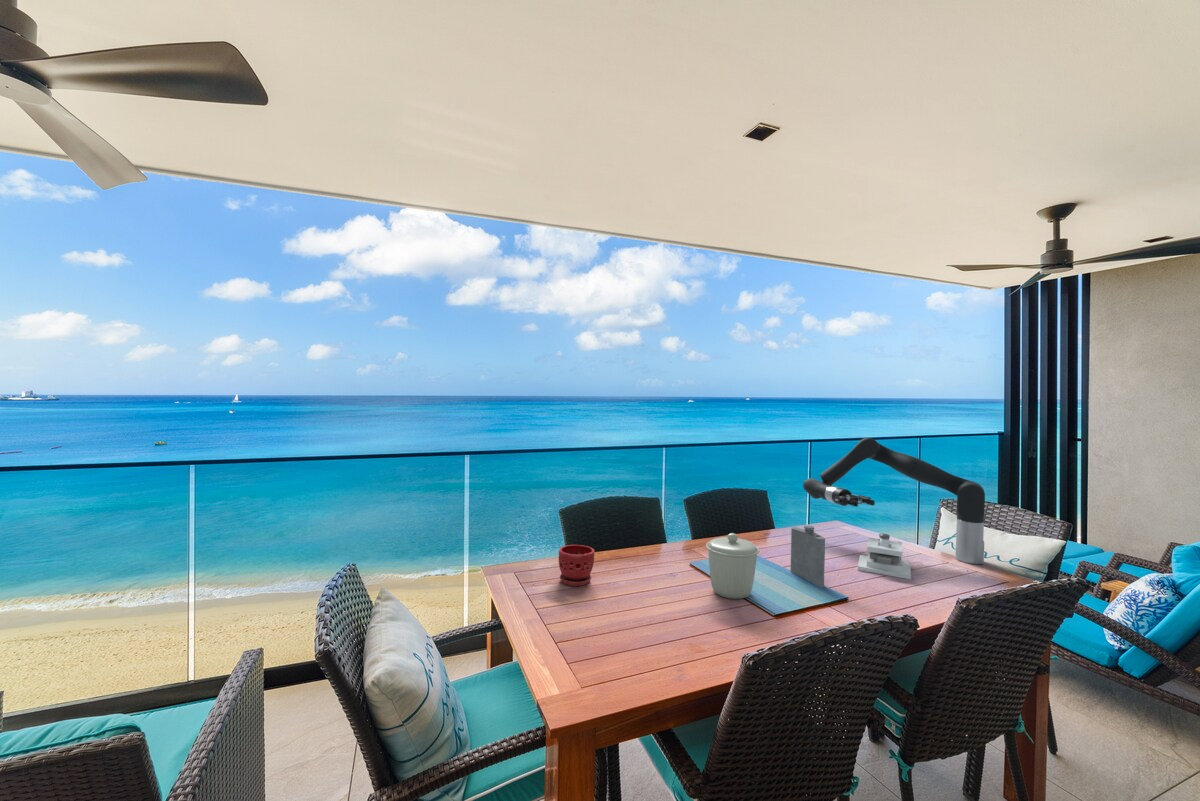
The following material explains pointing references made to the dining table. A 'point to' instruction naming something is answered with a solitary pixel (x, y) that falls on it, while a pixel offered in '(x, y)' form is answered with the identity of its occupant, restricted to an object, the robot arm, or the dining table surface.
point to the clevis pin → (884, 540)
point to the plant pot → (576, 564)
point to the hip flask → (808, 554)
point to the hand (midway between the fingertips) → (865, 503)
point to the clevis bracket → (884, 559)
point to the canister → (732, 566)
